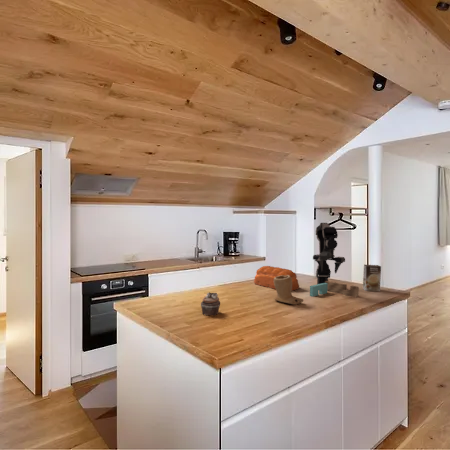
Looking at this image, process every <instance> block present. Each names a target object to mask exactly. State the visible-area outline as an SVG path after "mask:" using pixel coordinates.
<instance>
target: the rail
mask: <svg viewBox="0 0 450 450" xmlns="http://www.w3.org/2000/svg"><path fill="white" fill-rule="evenodd" d="M325 283H328V287H327V292H330V293H335V294H340V295H345V296H349V297H353V298H354V297H355V298H359V286H357V285H350V287H349V289H348V285H347V283H346V284H345V283H341V282H335V281H330V280H328V281H325Z"/></svg>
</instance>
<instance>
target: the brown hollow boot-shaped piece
mask: <svg viewBox="0 0 450 450" xmlns="http://www.w3.org/2000/svg"><path fill="white" fill-rule="evenodd" d="M274 285H275V288H276V289H275V290H276V294H277V295H276V296H275V297H274V298H273V300H275V301H278V302H281V303H285V304H289V305H295V306H296V305H299V304H301V303H303V302H304V299H303V298H301V297H298V296H297V297H296V296H293V294H292V278H291V277H290V276H289V275H287V276H284V275H281V276H277V277H275V278H274Z"/></svg>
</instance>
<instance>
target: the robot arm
mask: <svg viewBox="0 0 450 450" xmlns="http://www.w3.org/2000/svg"><path fill="white" fill-rule="evenodd" d="M315 235H316V239H317V240H318V244H319V245H318V247H319V248H318V249H319V253H318V254H313V256H312V260H314V262H316V263H317V267H316V269H315V278H317V280H316V281H317V283H316V285H317V284H322V283H325V281H329V279H330V278H331V273H332V271H331V268H330V265H329V263H328V262H327V261H333V262H334V274H337V272H338V271H339V268H340V266H341V265H342V264H343V263H345V262H346V258H345V257H343V256H335V253H334V252H335V251H336V248H337V247H338V241H337V240H336V239H338V236H339V234H338V229H336V227H335V226H330V225H329V223H328V222H319V225H318V226H317V227H316V228H315Z"/></svg>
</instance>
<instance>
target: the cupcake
mask: <svg viewBox="0 0 450 450" xmlns="http://www.w3.org/2000/svg"><path fill="white" fill-rule="evenodd" d="M218 295H219V294H218V293H217V292H207V293H206V296H204V297H203V299H202V302H200V307H201V311H202V312H201V313H202V315H204V314H205V315H204V316H208V315H213V316H217V315H218V314H219V312H220V311H219V309H220V306H221V301H220V298H219V297H218ZM216 314H217V315H216Z"/></svg>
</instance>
